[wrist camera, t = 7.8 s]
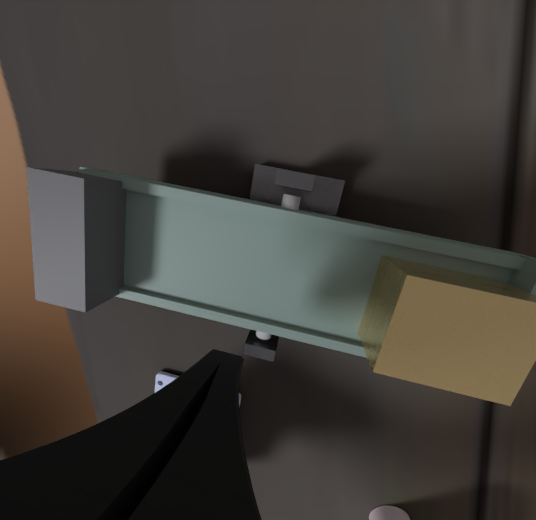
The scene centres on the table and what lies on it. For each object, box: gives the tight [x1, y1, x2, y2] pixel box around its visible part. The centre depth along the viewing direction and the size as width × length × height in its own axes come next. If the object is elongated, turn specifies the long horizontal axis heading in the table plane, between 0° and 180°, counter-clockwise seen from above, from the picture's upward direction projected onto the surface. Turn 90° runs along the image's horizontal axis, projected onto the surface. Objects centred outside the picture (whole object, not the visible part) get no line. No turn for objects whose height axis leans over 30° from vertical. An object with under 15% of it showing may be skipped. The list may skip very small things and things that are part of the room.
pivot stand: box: [243, 164, 345, 362], centre depth 17 cm, size 12×6×5 cm, turn 169°
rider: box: [358, 255, 536, 406], centre depth 13 cm, size 5×6×4 cm
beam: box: [26, 167, 536, 358], centre depth 14 cm, size 9×25×4 cm, turn 79°
